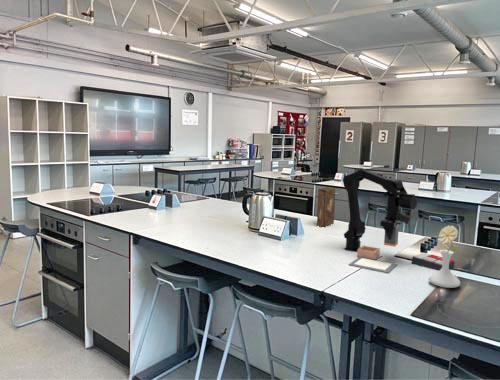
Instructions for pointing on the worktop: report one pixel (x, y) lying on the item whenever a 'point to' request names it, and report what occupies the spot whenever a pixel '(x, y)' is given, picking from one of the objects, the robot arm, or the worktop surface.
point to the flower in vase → (446, 260)
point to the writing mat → (373, 265)
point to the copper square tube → (368, 252)
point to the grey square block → (394, 237)
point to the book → (325, 207)
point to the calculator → (430, 261)
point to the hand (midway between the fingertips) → (391, 238)
